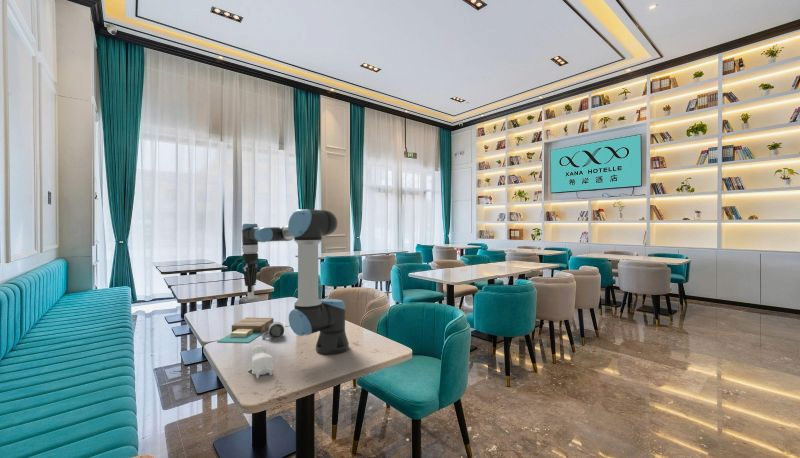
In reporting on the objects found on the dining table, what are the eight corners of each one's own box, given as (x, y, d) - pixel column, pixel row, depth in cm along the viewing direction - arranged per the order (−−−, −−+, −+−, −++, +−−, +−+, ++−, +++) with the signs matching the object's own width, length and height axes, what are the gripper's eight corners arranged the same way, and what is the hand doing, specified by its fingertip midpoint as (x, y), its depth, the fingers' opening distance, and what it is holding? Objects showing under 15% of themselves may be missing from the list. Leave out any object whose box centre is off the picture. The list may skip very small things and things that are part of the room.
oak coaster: (245, 337, 178) (245, 333, 178) (230, 337, 179) (230, 333, 179) (253, 332, 186) (253, 328, 186) (238, 332, 187) (238, 328, 187)
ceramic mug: (283, 333, 186) (283, 319, 186) (284, 338, 179) (284, 323, 178) (261, 336, 182) (261, 321, 182) (262, 341, 174) (262, 325, 174)
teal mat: (248, 343, 171) (248, 342, 171) (217, 342, 172) (217, 341, 172) (262, 333, 186) (262, 332, 186) (233, 333, 187) (233, 332, 187)
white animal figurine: (275, 380, 137) (266, 355, 148) (277, 363, 134) (268, 339, 145) (251, 386, 132) (244, 359, 143) (253, 368, 129) (246, 342, 141)
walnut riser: (260, 333, 186) (260, 326, 186) (231, 332, 187) (231, 325, 187) (273, 324, 202) (273, 318, 202) (246, 324, 203) (246, 317, 203)
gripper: (249, 252, 189) (249, 295, 189) (236, 253, 176) (237, 300, 176) (262, 252, 188) (263, 295, 188) (251, 253, 175) (252, 300, 175)
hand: (250, 298), depth 182 cm, fingers closed
